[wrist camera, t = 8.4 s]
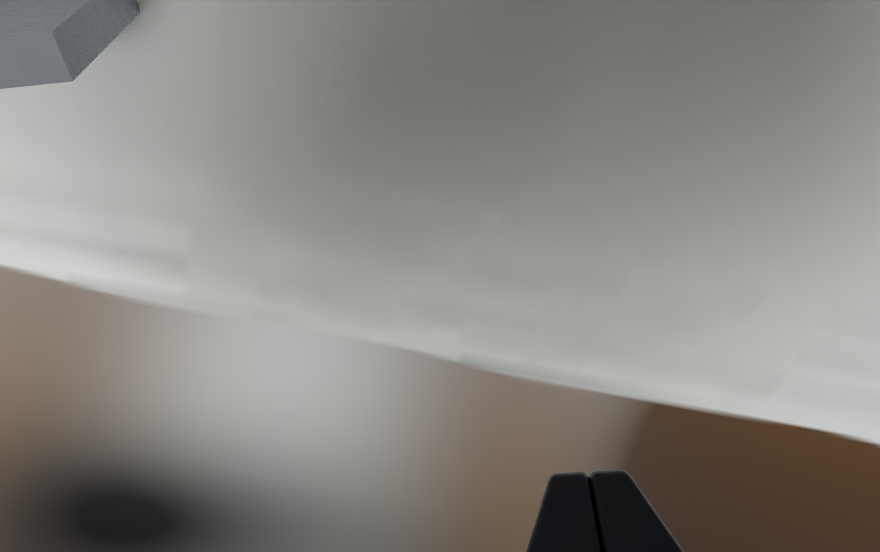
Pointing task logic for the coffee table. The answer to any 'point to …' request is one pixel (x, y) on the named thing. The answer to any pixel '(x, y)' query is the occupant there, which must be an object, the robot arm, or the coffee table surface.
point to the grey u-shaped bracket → (56, 37)
